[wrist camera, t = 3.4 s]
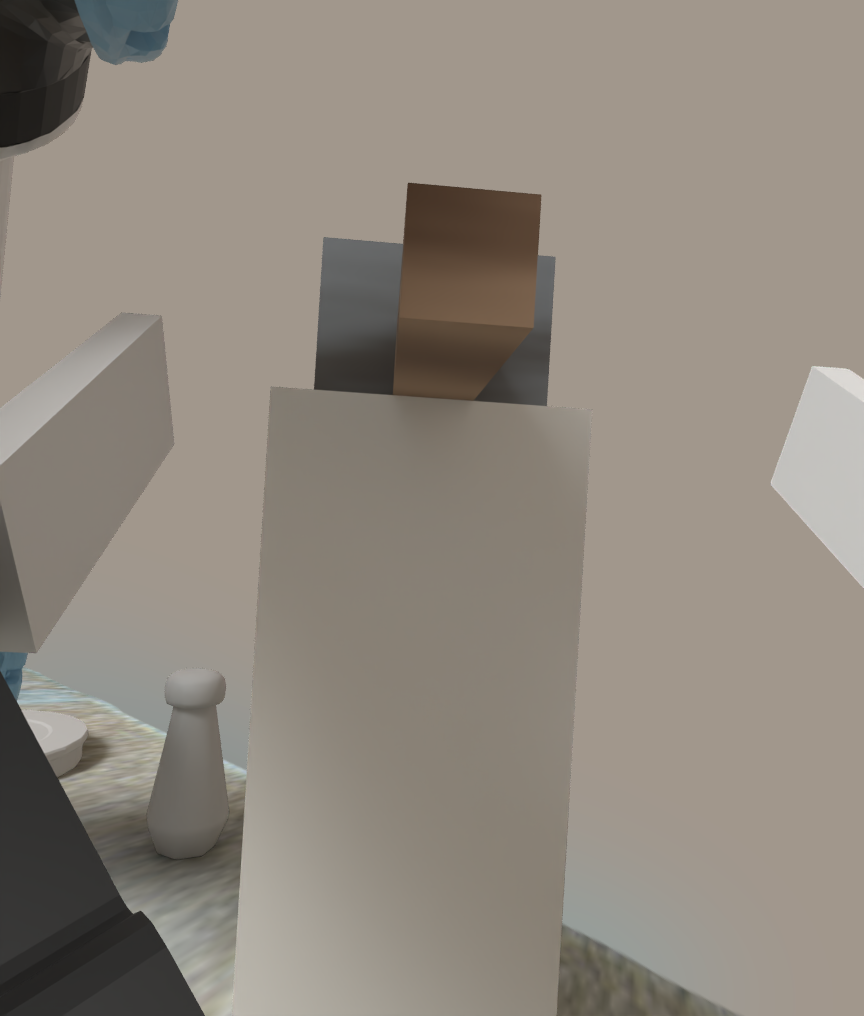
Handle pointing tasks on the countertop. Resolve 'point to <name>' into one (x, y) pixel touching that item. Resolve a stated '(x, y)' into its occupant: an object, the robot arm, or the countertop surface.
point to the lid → (58, 738)
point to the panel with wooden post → (441, 302)
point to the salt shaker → (190, 769)
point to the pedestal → (411, 707)
